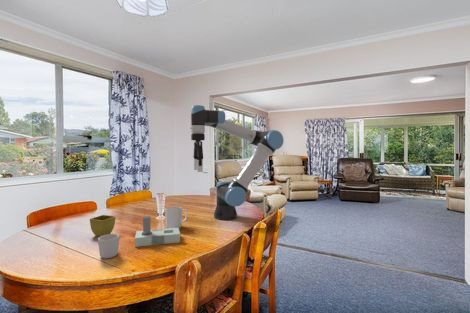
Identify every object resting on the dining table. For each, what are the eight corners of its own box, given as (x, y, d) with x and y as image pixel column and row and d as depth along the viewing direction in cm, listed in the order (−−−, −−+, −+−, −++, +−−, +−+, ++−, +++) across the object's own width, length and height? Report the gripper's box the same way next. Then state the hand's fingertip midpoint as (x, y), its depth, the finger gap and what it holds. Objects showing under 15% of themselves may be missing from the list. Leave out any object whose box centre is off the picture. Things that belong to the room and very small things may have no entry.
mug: (167, 231, 136) (167, 210, 136) (164, 226, 144) (164, 207, 144) (189, 228, 141) (189, 208, 141) (184, 223, 149) (184, 205, 149)
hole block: (178, 235, 129) (178, 227, 129) (180, 242, 120) (180, 233, 120) (136, 239, 124) (136, 231, 123) (134, 246, 114) (134, 238, 114)
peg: (150, 240, 122) (150, 215, 122) (150, 242, 119) (150, 217, 119) (143, 241, 121) (143, 216, 121) (143, 243, 118) (143, 217, 118)
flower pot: (116, 233, 133) (116, 216, 132) (102, 238, 124) (102, 220, 124) (103, 231, 136) (103, 214, 135) (89, 236, 127) (88, 218, 127)
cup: (106, 249, 111) (105, 231, 110) (124, 249, 111) (124, 231, 111) (94, 260, 100) (94, 240, 100) (115, 259, 101) (115, 240, 100)
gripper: (188, 134, 154) (188, 169, 154) (194, 131, 130) (194, 173, 130) (201, 134, 156) (201, 169, 156) (208, 132, 132) (208, 172, 133)
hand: (198, 170), depth 143 cm, fingers open, 13 cm apart
